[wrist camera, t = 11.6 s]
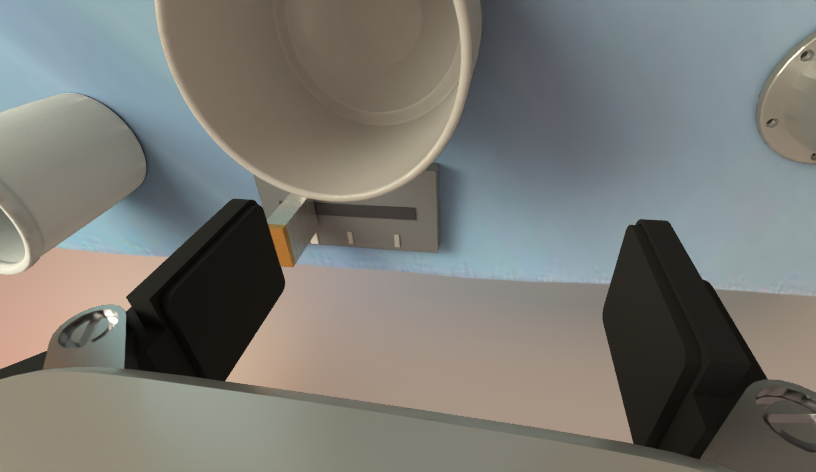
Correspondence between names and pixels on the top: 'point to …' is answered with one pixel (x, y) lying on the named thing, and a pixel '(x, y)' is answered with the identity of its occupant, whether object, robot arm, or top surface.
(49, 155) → the utensil holder
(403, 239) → the console board
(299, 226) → the fader tab
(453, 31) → the planter
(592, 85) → the top surface
